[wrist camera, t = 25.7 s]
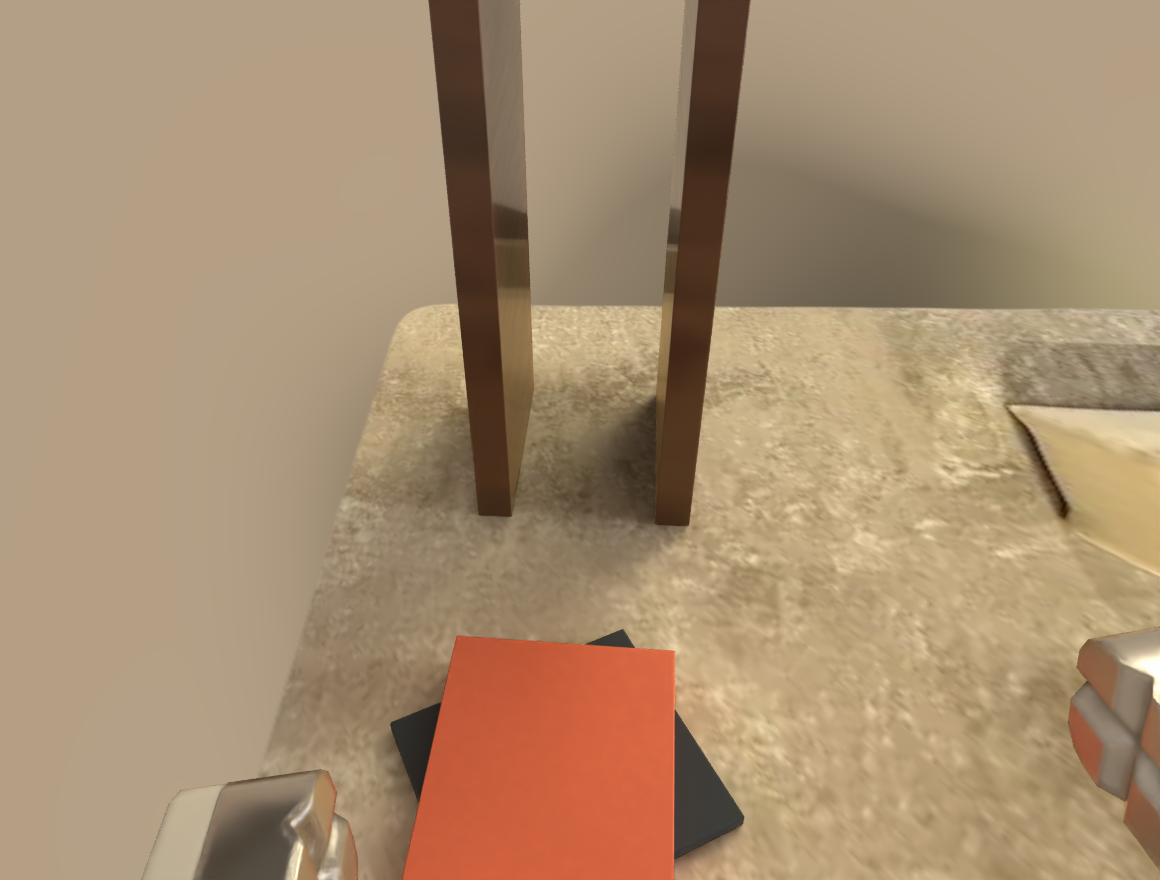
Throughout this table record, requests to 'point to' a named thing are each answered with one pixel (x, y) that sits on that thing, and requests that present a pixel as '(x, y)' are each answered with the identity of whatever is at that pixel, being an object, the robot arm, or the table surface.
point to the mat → (696, 784)
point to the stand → (500, 233)
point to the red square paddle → (549, 765)
